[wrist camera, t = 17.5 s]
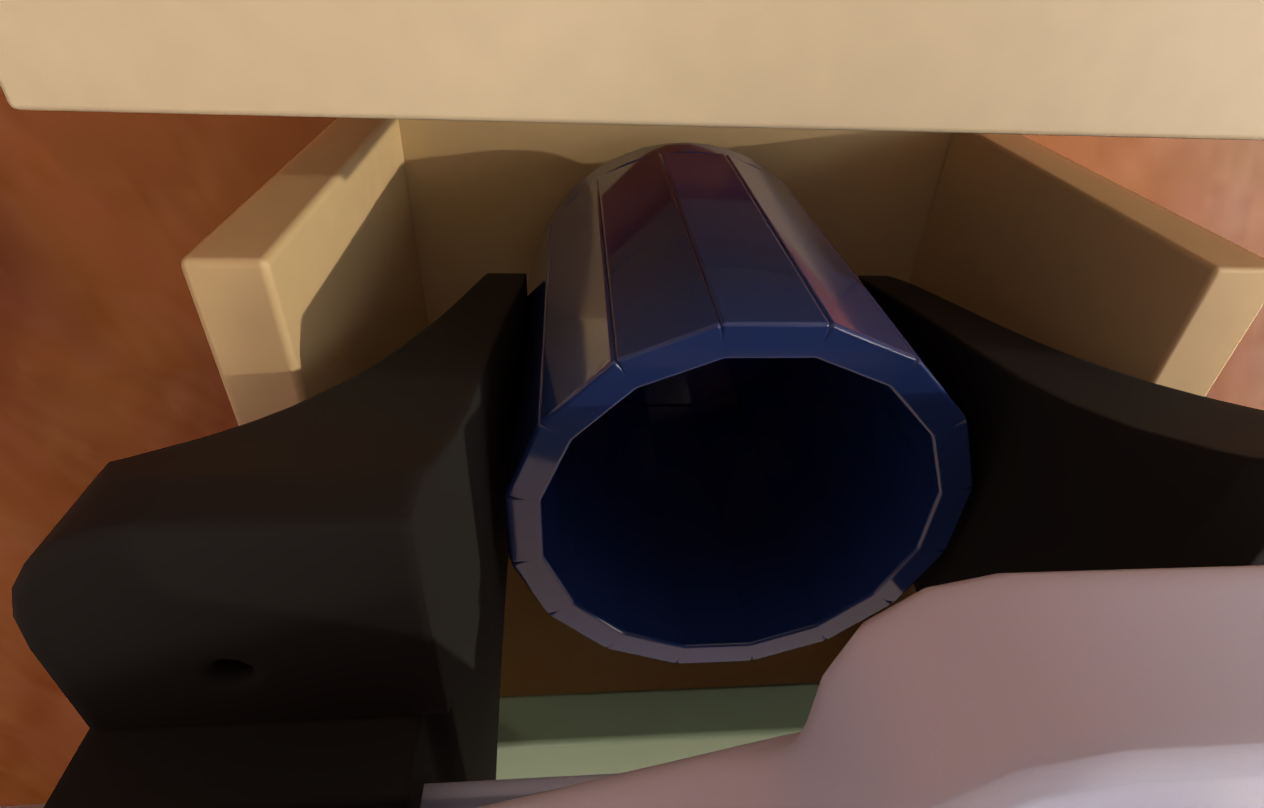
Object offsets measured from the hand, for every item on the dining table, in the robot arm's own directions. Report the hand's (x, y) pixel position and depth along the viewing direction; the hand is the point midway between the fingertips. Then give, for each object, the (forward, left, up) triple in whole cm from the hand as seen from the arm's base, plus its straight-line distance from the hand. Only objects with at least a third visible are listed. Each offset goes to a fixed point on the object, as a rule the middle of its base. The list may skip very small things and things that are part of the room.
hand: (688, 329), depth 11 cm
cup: (0, 0, -2) cm, 2 cm away
